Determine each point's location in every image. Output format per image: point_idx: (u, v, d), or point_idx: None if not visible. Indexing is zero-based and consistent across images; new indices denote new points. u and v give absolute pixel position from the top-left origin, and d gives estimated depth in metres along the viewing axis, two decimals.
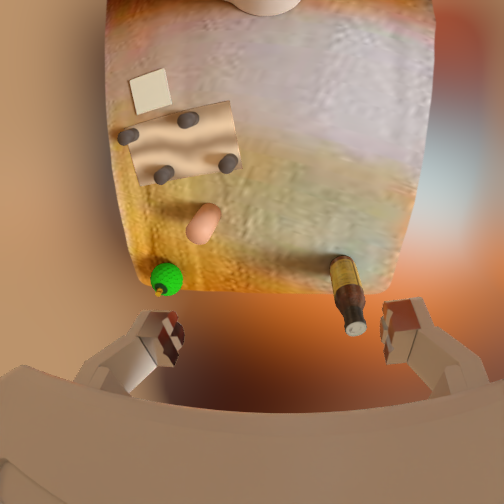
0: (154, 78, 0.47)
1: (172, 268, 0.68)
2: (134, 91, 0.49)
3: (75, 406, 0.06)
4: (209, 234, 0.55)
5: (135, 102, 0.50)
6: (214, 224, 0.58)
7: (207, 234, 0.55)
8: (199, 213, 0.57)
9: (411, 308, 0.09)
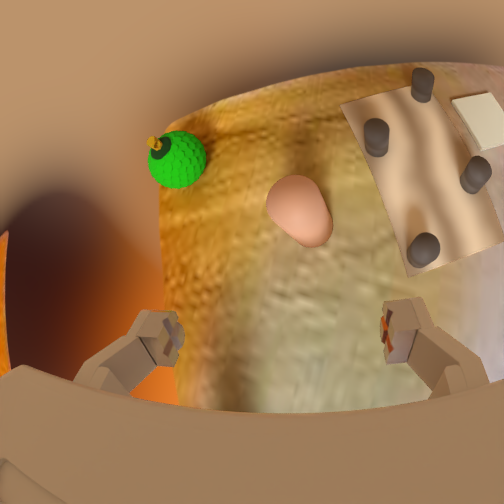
0: None
1: (198, 166, 0.36)
2: (480, 98, 0.26)
3: (75, 406, 0.06)
4: (294, 226, 0.25)
5: (467, 98, 0.27)
6: (307, 235, 0.28)
7: (293, 221, 0.25)
8: None
9: (411, 308, 0.09)
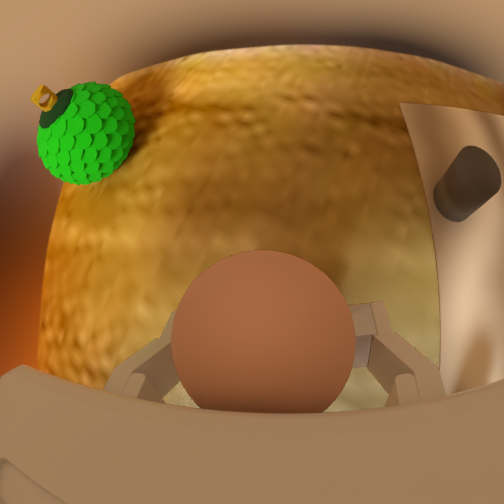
0: None
1: (107, 152, 0.17)
2: None
3: (75, 406, 0.06)
4: None
5: None
6: None
7: (241, 411, 0.07)
8: None
9: (370, 312, 0.09)
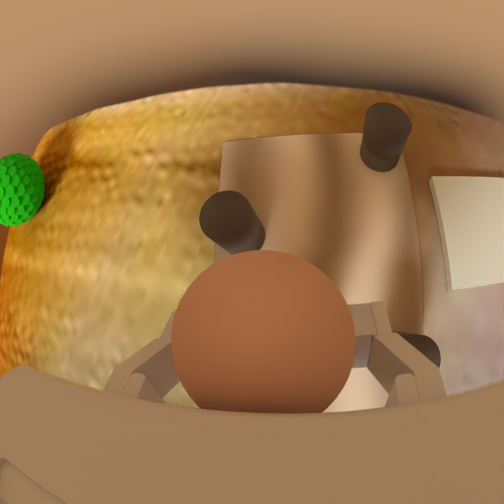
0: None
1: (21, 208, 0.22)
2: (487, 184, 0.16)
3: (75, 406, 0.06)
4: None
5: (463, 180, 0.16)
6: None
7: (241, 411, 0.07)
8: None
9: (370, 312, 0.09)
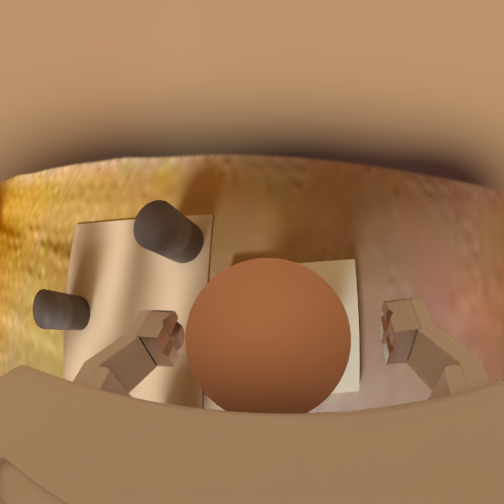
0: None
1: None
2: None
3: (75, 406, 0.06)
4: None
5: None
6: None
7: (249, 403, 0.08)
8: None
9: (411, 308, 0.09)
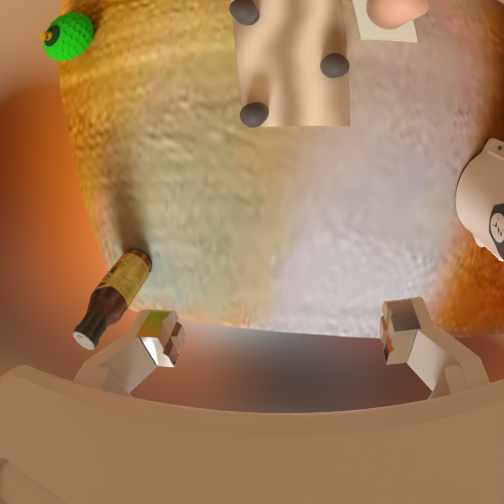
0: (404, 26, 0.24)
1: (85, 41, 0.27)
2: None
3: (75, 406, 0.06)
4: (406, 13, 0.18)
5: None
6: (400, 21, 0.20)
7: (406, 10, 0.17)
8: None
9: (411, 308, 0.09)
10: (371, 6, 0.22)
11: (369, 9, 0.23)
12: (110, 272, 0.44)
